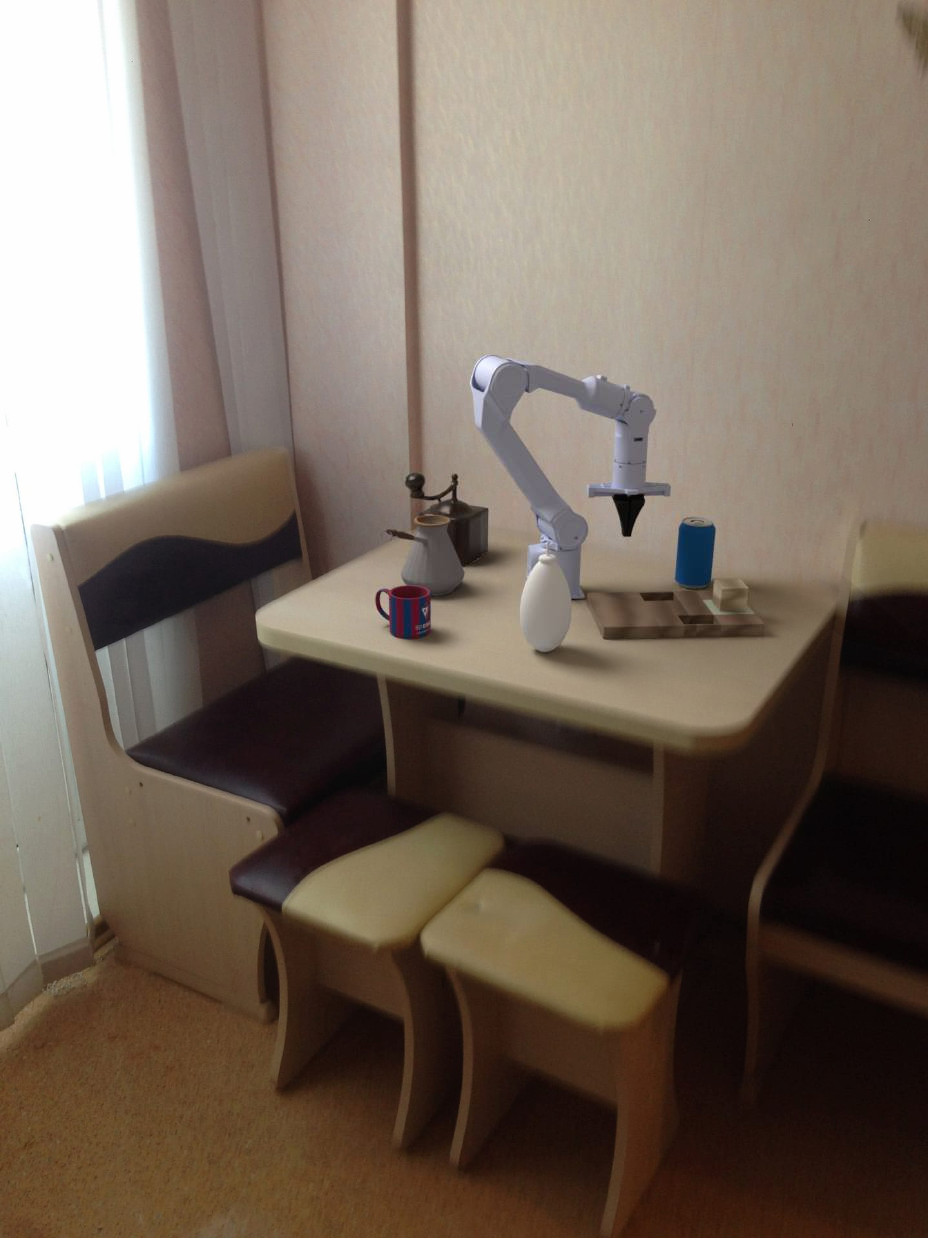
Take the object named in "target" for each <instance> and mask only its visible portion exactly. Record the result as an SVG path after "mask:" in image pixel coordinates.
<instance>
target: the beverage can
mask: <svg viewBox="0 0 928 1238" xmlns="http://www.w3.org/2000/svg"><path fill="white" fill-rule="evenodd" d="M714 524H715V522H714V520H713V519H711V518H708V517H702V516H687V517H684V518H682V520H681V523H680V524H679V526H678V534H677V547H676V549H677V550H676V559H675V572H674V573H675V574H674V581H675V582H676V583H677V584H678V585H679V586H680V587H682V588H685V589H690V590H700V589H704V588H706V587H707V586H708V585H710V584H711V583H712V572H713V562H714V554H715V553H714V552H715V542H716V531H717V529H716V527H715V525H714Z"/></svg>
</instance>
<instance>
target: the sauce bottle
mask: <svg viewBox="0 0 928 1238" xmlns="http://www.w3.org/2000/svg"><path fill="white" fill-rule="evenodd" d="M519 605H520V606H519V619H520V620H519V621H520V628H521V631H522V634H523V636H524V638H525V640H526V641H527V643H528V644H529V645H531V646H532V647H533V649H535V650H538V651H539V652H542V653H547V652H548V653H549V652H551V651H553V650H555V649H556V648H557V647H559V646H560V645H561V644H562V643H563V642H564V639H565V638H566V636H567V634H568V631H569V629H570V625H571V622H572V613H573V612H572V610H573V609H572V599H571V595H570V590H569V586H568V583H567V580H566V577H565V575H564V573H563V571H562V569H561V567H560V566H559V565H558V563H557V562H556V557H555V556H554V555H551V554H549V540H547V547H546V554H543V555H541V556H540V557H539V562H538V563H537V564H536V565H535V566H534V568H533V569H532V571H531V573H530V575H529V577H528V579H527V581H526V580H525V584H524V586H523V591H522V594H521V598H520V603H519Z"/></svg>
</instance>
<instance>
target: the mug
mask: <svg viewBox="0 0 928 1238" xmlns="http://www.w3.org/2000/svg"><path fill="white" fill-rule="evenodd" d="M382 593H385V594H387V595H388V613H389V614H388V613H387V612H386V611H384V609H383V607H382V605H381V594H382ZM431 597H432V596H431V592H430V590H429V589H428V588H426V587H422V586H417V585H406V584H405V585H398V586H396V587H395V586H394V587H393V588H391V589H388V588H380V589H379V590H377V592H376V593H375V598H374V599H375V601H374V602H375V606H376V610H377V612H378V613H379V614H380V616H381V617H383V618H384V619H385V620H386V621H389V624H388V625H389V634H391V635H392V636H394V637H395V638H398V639H406V640H407V639H408V640H410V639H411V640H413V639H421V638H424V637H426V636H428V635H429V634H430V633H431V632H432V622H431V621H432V620H431V617H432V616H431V615H432V614H431V613H432V612H431V611H432V610H431V609H432V608H431V607H432V605H431V604H432V603H431Z"/></svg>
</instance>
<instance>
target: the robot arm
mask: <svg viewBox="0 0 928 1238" xmlns="http://www.w3.org/2000/svg"><path fill="white" fill-rule="evenodd" d="M472 370H473V371H472V373H471V377H470V379H469V385H470V389H471V392H472V400H473V401H472V403H473V411H474V412H473V413H474V423H475V427H476V428H477V430H478V431H479V433H480V434H481V435H482V437H483V438H484V440H485V441H486V443H487V444H488V445H489V447H490V448H491V450H492V451H493V453H494V454H495V456H496V457H497V459H498V460H499V461H500V463H501V464H502V465H503V467H504V469H505V470H506V472H507V473H508V474H509V476H510V477H511V478H512V480H513V481H514V482H515V484H516V486H517V487H518V489H520V491H521V493H522V494H523V496H524V498H526V500H527V501H528V503H529V504H530V510H531V512H532V513H533V516H534V519H535V525H536V528H537V530H538V531H539V532H540V533H541V536H540V541H539V542H540V543H539V542H538V543H535V544H529V545H528V546H527V551H526V552H527V555H526V556H527V557H526V576H525V582H526V581H527V579H528V577H529V575H530V573H531V571H532V569H533V568H534V566H535V565H536V564H537V563H538V562H539V557H540V556H541V555H543V554H546V547H547V540H549V554H551V555H554V556H555V557H556V562H557V563H558V565H559V566H560V567H561V569H562V571H563V573H564V575H565V577H566V580H567V583H568V586H569V590H570V595H571V600H572V599H573V600H575V599H580V600H581V599H585V594H584V592H583V590H582V588H581V586H580V583H581V579H580V578H581V558H582V544H584V542H585V541H586V539H587V537H588V535H589V525H588V522H587V520H586V518H584V516H582V515H580V514H578V513H576V512H575V511H574V510H573V509H572V507H570V505H569V504H568V503H567V502H566V500H564V498H562V496H560V494H559V492H557V491H556V489H555V488H554V486H553V485H552V483H551V482H550V480H549V478H548V477H547V476H546V474H545V473H544V471H543V470H542V468H541V467H540V465H539V464H538V462H537V461H536V459H535V458H534V456H533V455H532V453H531V452H530V451H529V448H527V446H526V445H525V443H524V442H523V441H522V439H521V437H520V436H519V434H518V433H517V431H516V430H515V428H514V427H513V426H512V424H511V423H510V421H511V417H512V414H513V411H514V409H515V408H516V406H517V405H518V403H519V401H520V400H521V398H522V396H523V395H524V393H528V394H531V393H533V392H535V391H536V390H538V389H542V390H545V391H549V392H552V393H556V394H559V395H561V396H566V397H569V398H572V399H574V400H575V401H576V404H577V406H578V408H579V409H580V410H583V411H585V412H589V413H592V414H593V415H594V414H595V415H598V416H601V417H604V418H607V419H610V420H615V425H614V446H613V465H612V466H613V468H612V469H613V470H612V482H611V481H610V482H604V483H593V484H592V483H591V484H586V496H587V497H588V498H589V499H591V498H592V499H594V498H597V497H598V498H599V497H611V498H612V501H613V503H614V506H615V508H616V512H617V515H618V517H619V522H620V523H619V524H620V527H621V528H620V529H621V535H622V537H623V538H629V537H630V538H631V537H632V534H633V530H634V526H635V524H636V521H637V519H638V516H639V514H640V513H641V511H642V510H643V507H644V506H645V505H646V499H645V497H649V496H650V497H655V496H661V497H662V496H663V497H671V492H672V491H671V489H672V486H671V484H670V483H669V482H665V483H664V482H652V481H651V482H650V481H649V482H648V481H646V480H647V478H646V477H647V476H646V475H647V462H648V444H649V443H648V441H649V433H650V426H651V424H652V423H653V422H654V420H655V417H656V415H657V409H655V405H654V401H653V399H651V397H650V396H649V395H647V394H645V393H643V392H639V391H636V390H633V389H631V386H630V385H627V384H622V385H619V384H615V383H613V382H610V381H608V380H607V379H608V377H606V376H604V375H602V374H601V375H600V374H597V375H596V376H594V375H591V376H587V377H586V378H584V379H582V380H581V379H580V380H579V379H577V378H575V377H571V376H569V375H567V374H564V373H560V372H559V371H556V370H553V369H550V368H549V367H544V366H542V365H539V364H537V363H535V362H531V361H525V360H521V359H517V358H513V357H512V358H511V357H506V359H505V358H503V357H501V356H500V355H497V354H486V355H485V356H482V357H481V358H479V359H478V361H476V363H475V365H474V368H473V369H472Z"/></svg>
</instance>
